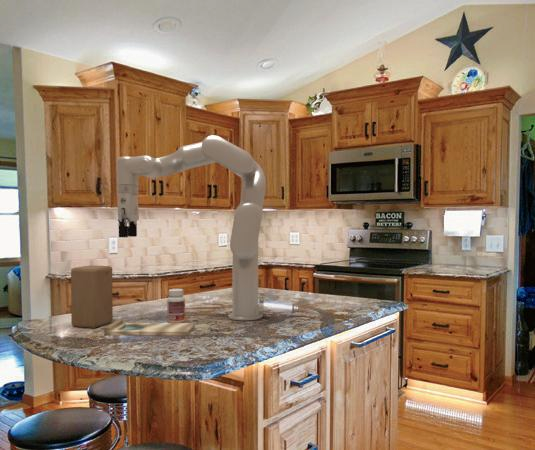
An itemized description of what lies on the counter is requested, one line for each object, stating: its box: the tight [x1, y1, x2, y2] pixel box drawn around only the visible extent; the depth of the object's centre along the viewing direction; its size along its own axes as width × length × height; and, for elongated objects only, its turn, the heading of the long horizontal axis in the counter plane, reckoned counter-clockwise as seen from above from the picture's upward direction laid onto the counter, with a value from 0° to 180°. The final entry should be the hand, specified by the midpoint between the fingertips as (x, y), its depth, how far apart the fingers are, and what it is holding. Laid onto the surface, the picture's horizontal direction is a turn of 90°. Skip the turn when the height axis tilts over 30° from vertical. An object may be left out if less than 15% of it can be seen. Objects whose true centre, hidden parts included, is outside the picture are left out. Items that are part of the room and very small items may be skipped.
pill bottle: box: [166, 288, 186, 323], centre depth 162 cm, size 6×6×11 cm
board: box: [103, 319, 196, 337], centre depth 148 cm, size 26×12×2 cm, turn 88°
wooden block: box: [70, 265, 114, 329], centre depth 157 cm, size 10×10×20 cm
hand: (128, 236), depth 169 cm, fingers open, 9 cm apart
